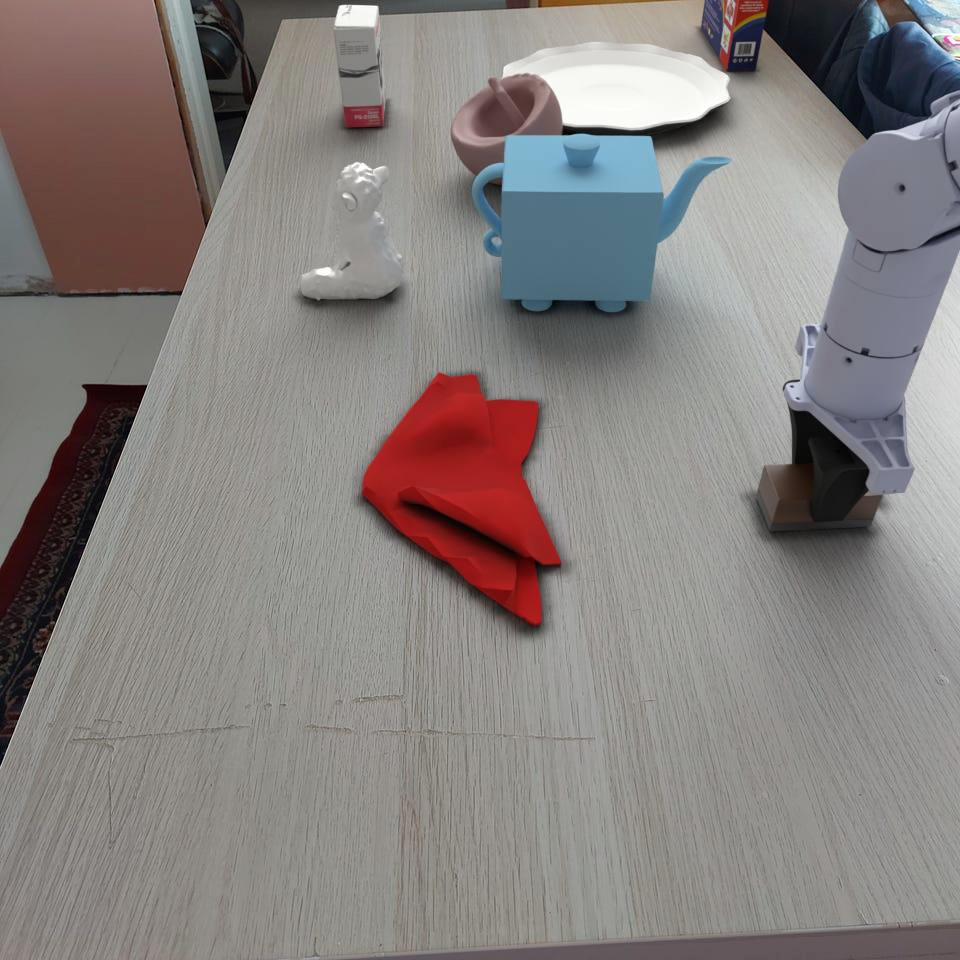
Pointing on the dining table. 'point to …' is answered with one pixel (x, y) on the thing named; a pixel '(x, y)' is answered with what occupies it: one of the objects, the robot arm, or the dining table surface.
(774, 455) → the dining table surface
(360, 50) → the ink box
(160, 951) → the dining table surface
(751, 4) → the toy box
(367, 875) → the dining table surface
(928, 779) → the dining table surface
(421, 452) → the cloth
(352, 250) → the seated beast figurine
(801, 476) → the eraser
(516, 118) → the mortar and pestle
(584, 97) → the plate
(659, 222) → the teapot
